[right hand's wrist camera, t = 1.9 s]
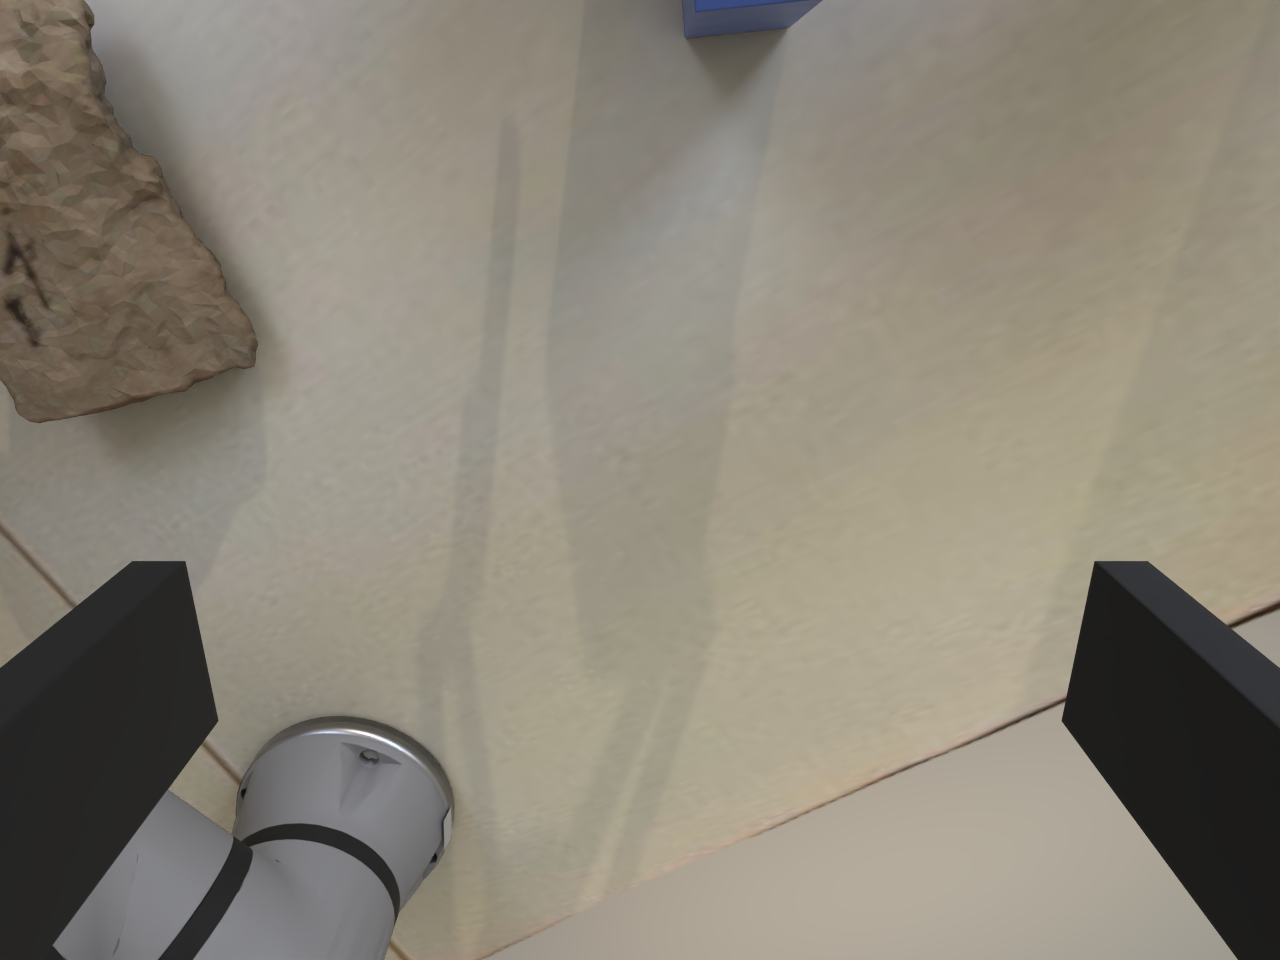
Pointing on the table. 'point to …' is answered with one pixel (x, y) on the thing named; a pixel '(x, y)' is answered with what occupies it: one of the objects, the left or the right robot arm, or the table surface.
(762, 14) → the bar
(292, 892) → the right robot arm
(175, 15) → the table surface
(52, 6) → the stone
